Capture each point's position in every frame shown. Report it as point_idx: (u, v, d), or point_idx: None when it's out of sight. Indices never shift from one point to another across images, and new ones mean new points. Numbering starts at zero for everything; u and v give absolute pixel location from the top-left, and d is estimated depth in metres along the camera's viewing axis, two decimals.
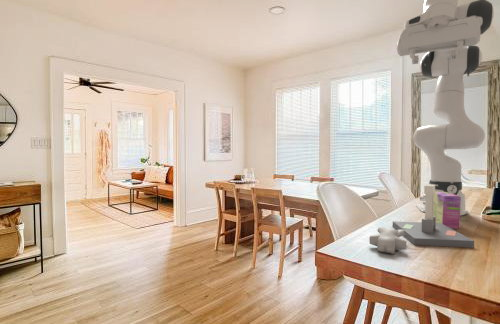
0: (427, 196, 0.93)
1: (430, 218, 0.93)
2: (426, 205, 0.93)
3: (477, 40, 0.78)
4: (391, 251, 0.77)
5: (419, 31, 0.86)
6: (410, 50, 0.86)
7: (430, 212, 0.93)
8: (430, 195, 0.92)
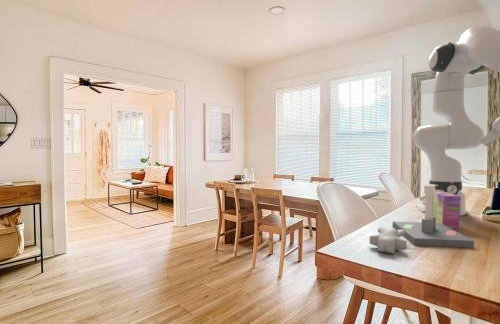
0: (427, 196, 0.93)
1: (430, 218, 0.93)
2: (426, 205, 0.93)
3: None
4: (391, 251, 0.77)
5: None
6: (498, 135, 0.78)
7: (430, 212, 0.93)
8: (430, 195, 0.92)
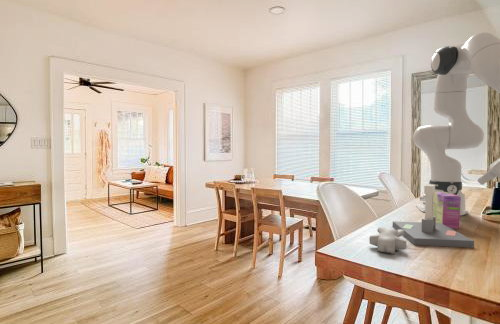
0: (427, 196, 0.93)
1: (430, 218, 0.93)
2: (426, 205, 0.93)
3: None
4: (391, 251, 0.77)
5: None
6: None
7: (430, 212, 0.93)
8: (430, 195, 0.92)
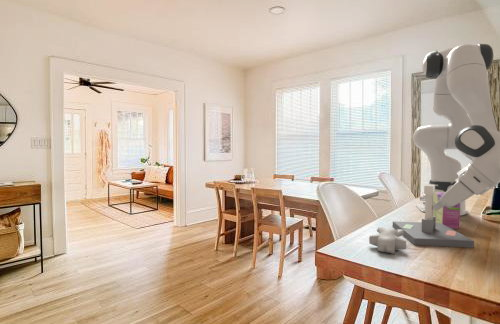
0: (427, 196, 0.93)
1: (430, 218, 0.93)
2: (426, 205, 0.93)
3: None
4: (391, 251, 0.77)
5: None
6: None
7: (430, 212, 0.93)
8: (430, 195, 0.93)
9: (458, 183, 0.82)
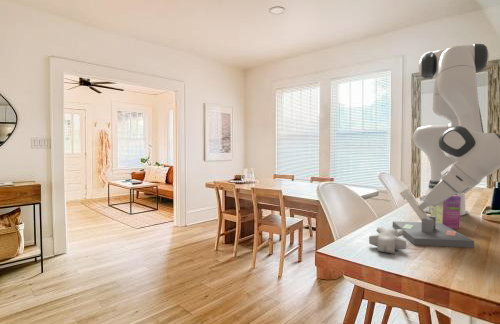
0: (408, 200, 0.96)
1: (425, 218, 0.94)
2: (413, 208, 0.96)
3: None
4: (391, 251, 0.77)
5: None
6: None
7: (421, 212, 0.94)
8: (410, 198, 0.96)
9: (441, 182, 0.84)
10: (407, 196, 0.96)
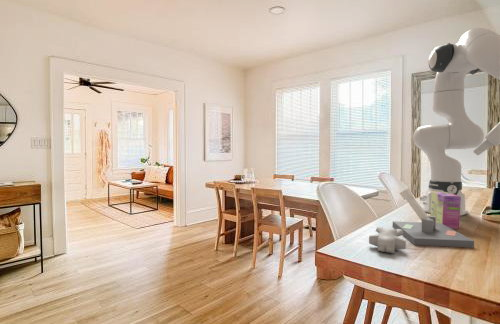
0: (408, 200, 0.96)
1: (425, 218, 0.94)
2: (413, 208, 0.96)
3: None
4: (391, 251, 0.78)
5: None
6: None
7: (421, 212, 0.94)
8: (410, 198, 0.96)
9: None
10: (407, 196, 0.96)
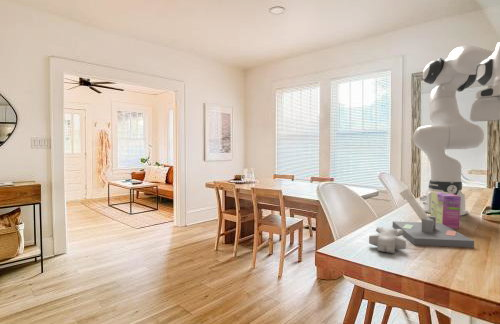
0: (408, 200, 0.96)
1: (425, 218, 0.94)
2: (413, 208, 0.96)
3: None
4: (391, 251, 0.78)
5: (492, 102, 0.93)
6: None
7: (421, 212, 0.94)
8: (410, 198, 0.96)
9: None
10: (407, 196, 0.96)
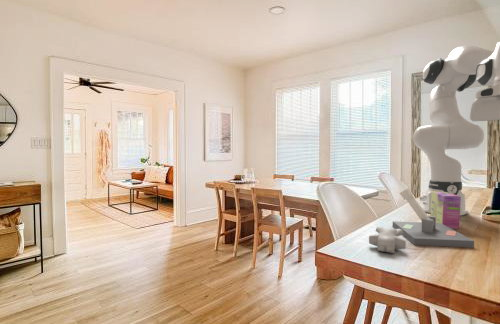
0: (408, 200, 0.96)
1: (425, 218, 0.94)
2: (413, 208, 0.96)
3: None
4: (391, 250, 0.78)
5: (492, 102, 0.93)
6: None
7: (421, 212, 0.94)
8: (410, 198, 0.96)
9: None
10: (407, 196, 0.96)
